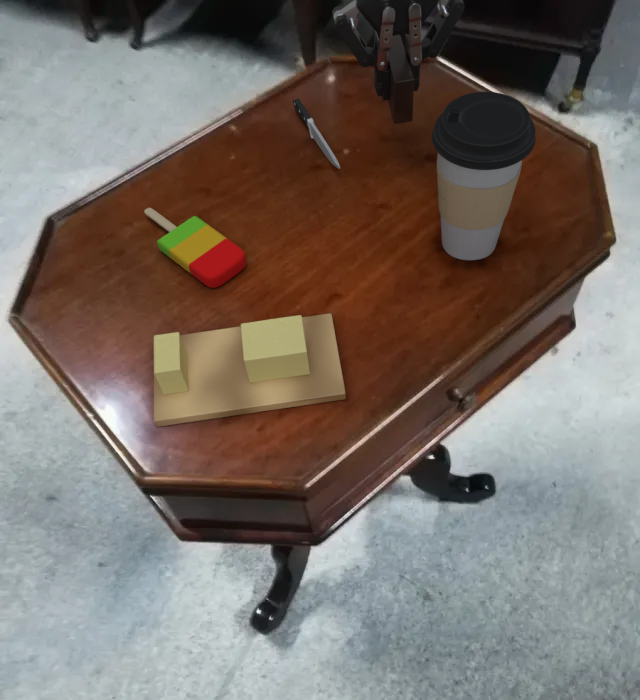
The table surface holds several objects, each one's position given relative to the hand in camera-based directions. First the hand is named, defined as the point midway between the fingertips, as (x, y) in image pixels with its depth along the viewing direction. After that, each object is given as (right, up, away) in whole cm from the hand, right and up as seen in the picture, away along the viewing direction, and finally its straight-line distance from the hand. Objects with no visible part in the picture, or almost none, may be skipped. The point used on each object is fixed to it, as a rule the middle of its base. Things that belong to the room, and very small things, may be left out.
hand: (396, 94), depth 82 cm
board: (-16, -31, -9) cm, 36 cm away
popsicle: (-23, -17, +1) cm, 28 cm away
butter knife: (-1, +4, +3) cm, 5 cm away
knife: (-9, -2, +9) cm, 13 cm away
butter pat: (-22, -32, -10) cm, 40 cm away
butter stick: (-13, -30, -10) cm, 34 cm away
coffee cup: (+8, -17, -2) cm, 19 cm away
